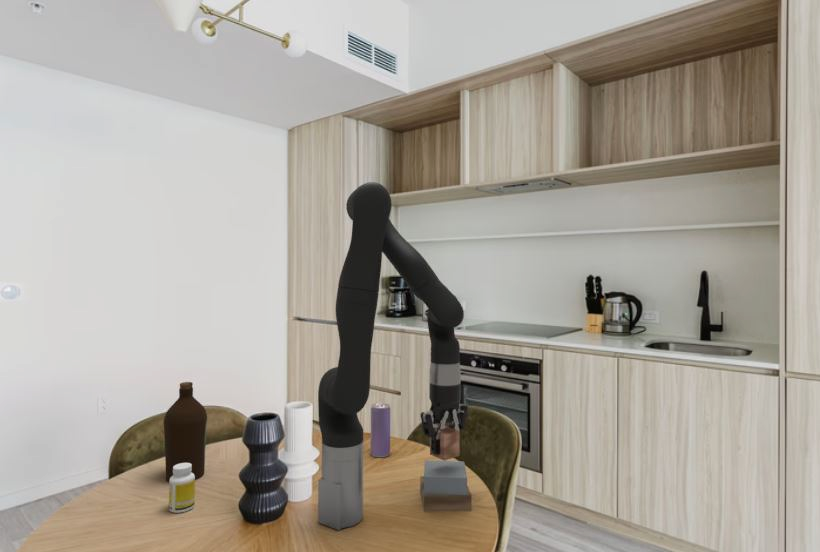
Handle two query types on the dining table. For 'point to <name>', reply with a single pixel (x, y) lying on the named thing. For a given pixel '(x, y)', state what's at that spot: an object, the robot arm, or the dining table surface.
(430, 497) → the walnut base slab
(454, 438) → the terracotta block
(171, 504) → the supplement bottle
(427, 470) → the slate top slab
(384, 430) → the beverage can
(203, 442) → the olive oil
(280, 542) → the dining table surface
